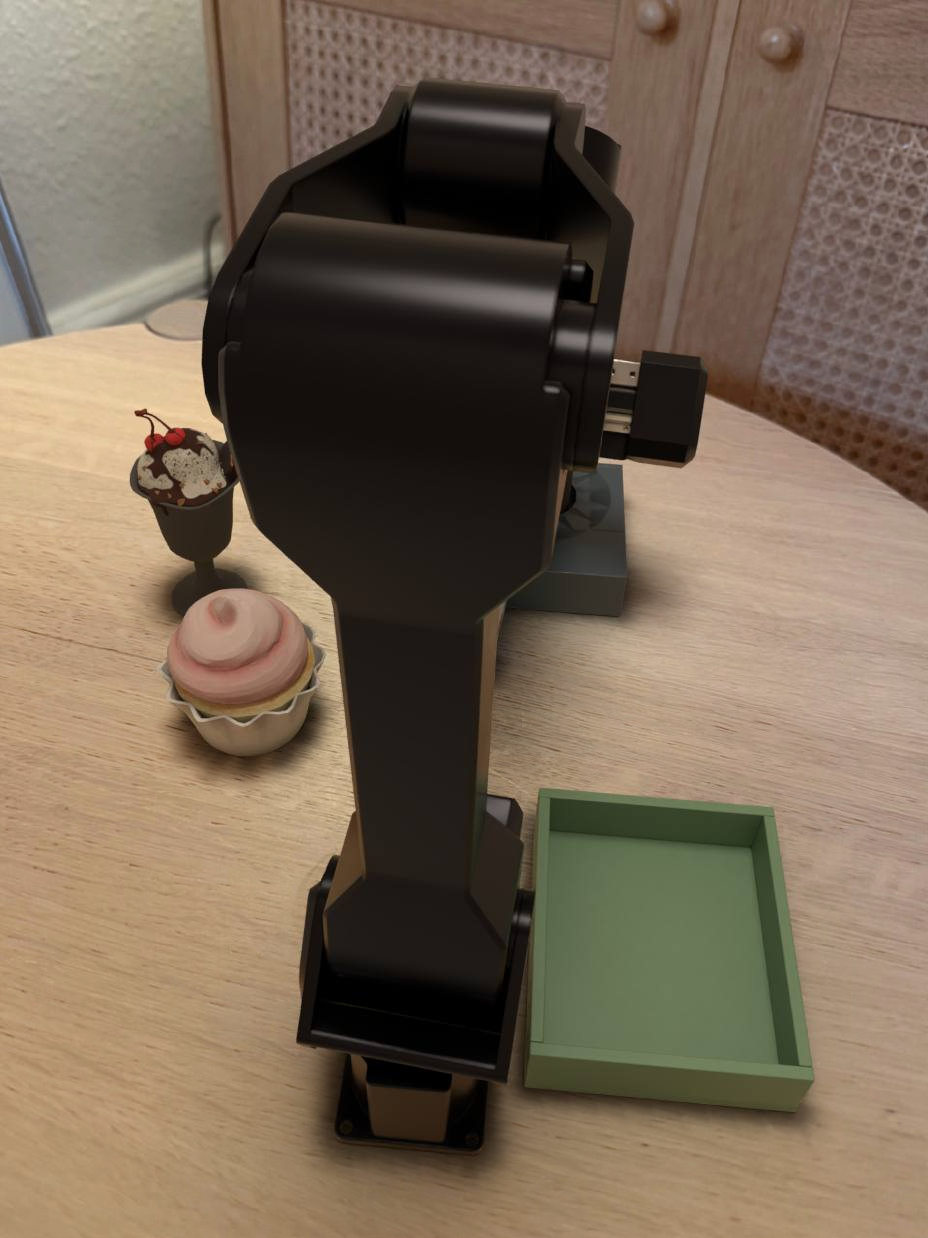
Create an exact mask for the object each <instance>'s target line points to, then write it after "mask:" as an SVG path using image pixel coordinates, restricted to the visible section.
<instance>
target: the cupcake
mask: <svg viewBox="0 0 928 1238" xmlns="http://www.w3.org/2000/svg"><path fill="white" fill-rule="evenodd" d="M183 616H184V615H183ZM315 637H316V630H315V629H314V627H313V626H312V625H311V624H309V623H308V622H305V621H304V622H303V621H301V619H300V618H299V616H298V615H297V613H295V611H293V609H291V607H289V606H288V605H287V604H286V603H284V602H283V601H281V600H279V599H278V598H276V597H275V596H273V595H270V594H268V593H266V592H262V591H259V590H255V589H249V588H247V589H224V590H219V591H216V592H213V593H211V594H209V595H207V596H205V597H203V598H201V599H200V600H198V601H197V602H195V603H194V604H193V605H192V606H191V607H190V608H189V609H188V611H187V613H186V615H185V616H184V617H183V618H182V620H181V623H180V624H179V625H178V626H177V627H176V629H175V630H174V631H173V632H172V634H171V636H169V639H168V645H167V647H166V648H167V649H166V658H165V659H163V660H162V661H161V662H160V663H159V664H158V665H157V667H156V668H155V670H156V671H157V673H158V674H159V675H160V676H161V677H162V678H163V679H164V680H165V681H166V682H167V683H168V687H167V690H166V693H165V700H166V701H167V702H168V703H170V704H171V705H173V706H174V707H176V708H177V709H179V710H180V711H182V712H183V713H185V714H186V716H187V717H188V718H189V720H190V721H191V722H192V723H193V725H194V727H195V728H196V729H197V731H198V732H199V735H200V736H201V737H202V738H203V739H204V741H206V742H207V743H208V744H209V745H210V746H211V747H213V748H214V749H216V750H217V751H220V752H222V753H225V754H229V755H231V756H236V757H255V756H262V755H267V754H269V753H271V752H273V751H276V750H278V749H280V748H281V747H284V746H285V745H287V744H288V743H289V742H291V740H293V739H294V737H295V736H297V734H298V732H299V731H300V730H301V728H302V726H303V725H304V723H305V721H306V719H307V714H308V710H309V706H310V700H311V698H312V697H313V695H314V694H315V692H317V689H318V688H319V687H320V682H321V681H320V680H321V679H320V677H319V671H320V670H321V668H322V666H323V664H324V662H325V660H326V657H327V652H326V651H325V649H324V647H322V646H321V645H319V644H318V643H317V642H315Z"/></svg>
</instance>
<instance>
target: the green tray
mask: <svg viewBox="0 0 928 1238" xmlns="http://www.w3.org/2000/svg"><path fill="white" fill-rule="evenodd" d="M537 793H538V794H537V801H536V809H535V815H534V823H533V840H532V841H533V844H532V867H531V871H532V872H531V889H533V890H536V895H535V902H534V908H533V915H532V922H531V929H530V935H529V942H528V967H527V969H528V970H527V972H528V973H527V993H526V994H527V995H526V1021H525V1024H526V1025H525V1046H524V1047H525V1049H524V1071H523V1073H524V1074H523V1087H524V1088H531V1089H539V1090H549V1091H550V1090H551V1091H562V1092H572V1093H584V1094H593V1095H594V1094H595V1095H604V1096H615V1097H616V1096H617V1097H626V1098H635V1099H636V1098H637V1099H647V1100H656V1101H657V1100H659V1101H669V1102H680V1103H690V1104H691V1103H692V1104H702V1105H712V1106H723V1107H733V1108H734V1107H735V1108H745V1109H753V1110H755V1109H756V1110H766V1111H775V1112H776V1111H777V1112H789V1113H796V1112H797V1110H798V1108H799V1107H800V1105H801V1103H802V1102H803V1100H804V1098H805V1097H806V1095H807V1094H808V1092H809V1090H810V1088H811V1087H812V1086H813V1084H814V1082H815V1080H816V1079H815V1073H814V1072H815V1071H814V1067H813V1065H814V1064H813V1060H812V1059H813V1058H812V1053H811V1052H812V1051H811V1045H810V1038H809V1033H808V1026H807V1020H806V1013H805V1007H804V1001H803V999H804V998H803V993H802V988H801V987H802V986H801V979H800V974H799V967H798V960H797V953H796V947H795V940H794V934H793V927H792V922H791V914H790V908H789V902H788V894H787V887H786V881H785V874H784V868H783V862H782V861H783V860H782V855H781V848H780V847H781V846H780V842H779V834H778V828H777V821H776V815H775V809H774V807H773V806H767V805H766V806H763V805H752V804H740V803H731V802H730V803H729V802H718V801H717V802H716V801H705V800H694V799H693V800H692V799H679V798H668V797H655V796H645V795H633V794H632V795H631V794H619V793H609V792H597V791H586V790H575V789H574V790H572V789H563V788H562V789H561V788H550V787H539V788H538V792H537Z"/></svg>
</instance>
